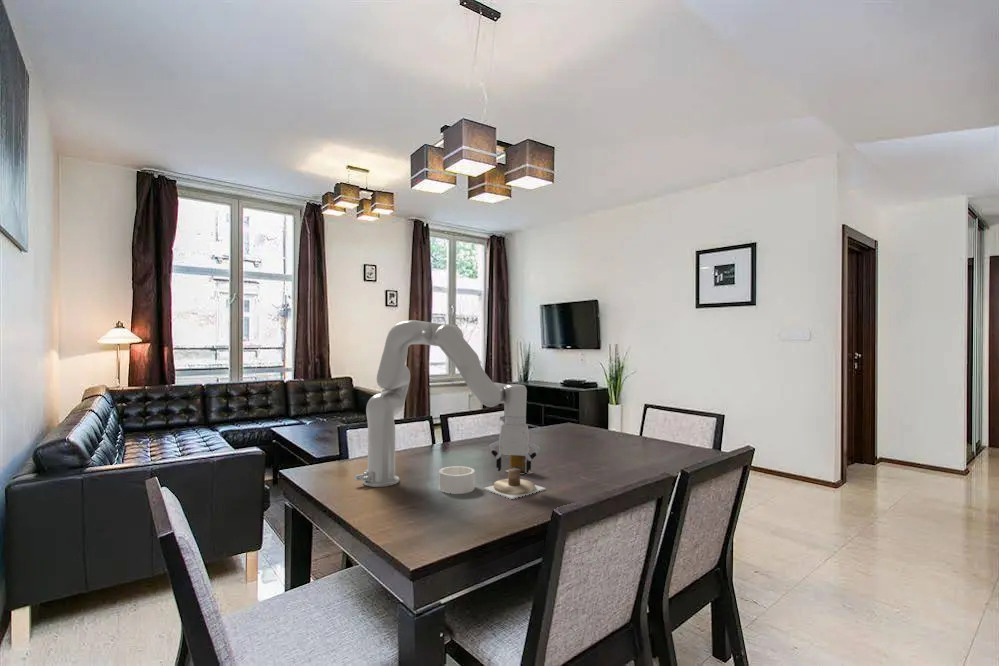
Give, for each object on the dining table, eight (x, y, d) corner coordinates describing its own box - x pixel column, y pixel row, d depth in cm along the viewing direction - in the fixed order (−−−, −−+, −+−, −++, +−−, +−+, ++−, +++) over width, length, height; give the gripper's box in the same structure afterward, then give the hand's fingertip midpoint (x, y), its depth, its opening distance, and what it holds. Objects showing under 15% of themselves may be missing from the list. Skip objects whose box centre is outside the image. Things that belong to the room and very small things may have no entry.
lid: (513, 497, 161) (514, 477, 161) (485, 487, 171) (485, 469, 171) (543, 488, 171) (543, 470, 171) (514, 479, 181) (514, 462, 181)
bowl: (453, 496, 163) (453, 477, 163) (432, 487, 172) (432, 470, 172) (481, 488, 171) (481, 471, 172) (459, 481, 180) (459, 464, 180)
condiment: (518, 468, 199) (518, 438, 199) (533, 473, 193) (533, 441, 193) (504, 471, 195) (504, 440, 195) (518, 476, 188) (519, 444, 188)
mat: (511, 499, 160) (511, 497, 160) (483, 489, 171) (483, 487, 171) (545, 489, 171) (545, 488, 171) (516, 480, 182) (516, 479, 182)
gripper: (488, 421, 169) (486, 472, 169) (539, 423, 166) (538, 475, 166) (491, 417, 176) (490, 466, 176) (540, 420, 174) (539, 469, 174)
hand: (513, 470), depth 171 cm, fingers open, 9 cm apart
